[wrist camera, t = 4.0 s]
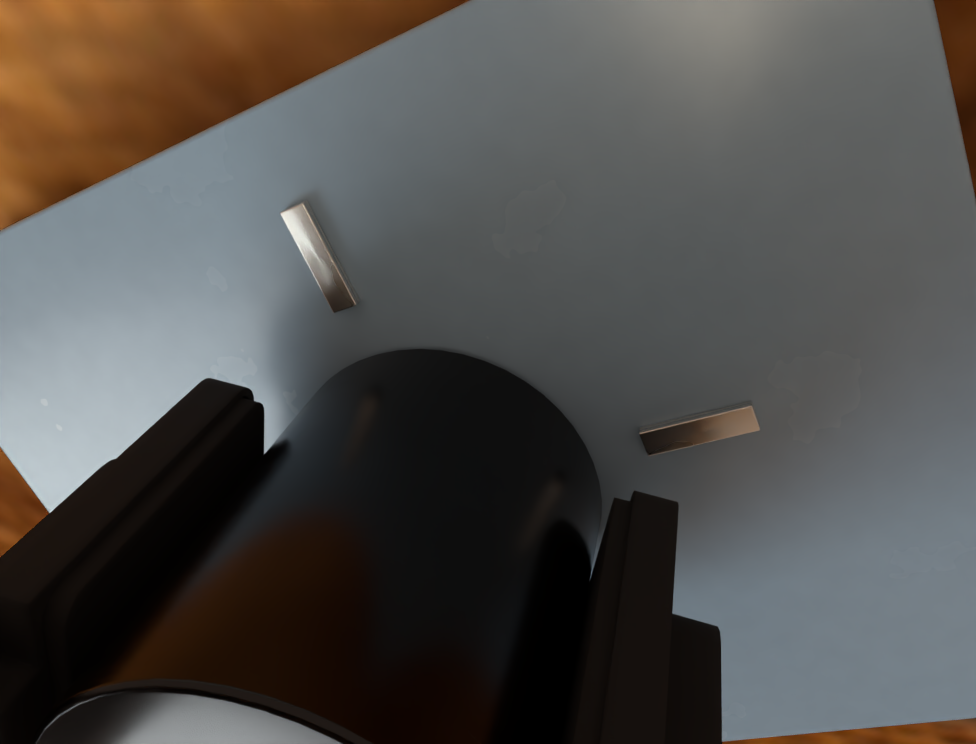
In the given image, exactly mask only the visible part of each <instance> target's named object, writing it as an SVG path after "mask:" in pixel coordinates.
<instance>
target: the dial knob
mask: <svg viewBox="0 0 976 744" xmlns="http://www.w3.org/2000/svg"><path fill="white" fill-rule="evenodd" d="M601 517H602V497H601V490H600V483H599V479H598V475H597V472H596V469H595V466H594V462H593V460H592V458H591V456H590V454H589V452H588V450H587V447H586V445H585V443H584V442H583V440H582V439H581V437H580V436H579V434H578V433H577V431H576V429H575V428H574V426H573V425H572V424H571V423H570V421H569V420H568V419H567V418H566V417H565V415H564V414H563V413H562V412H561V411H560V409H559V408H557V407H556V406H555V405H554V404H553V403H552V402H551V401H550V400H549V399H548V398H547V397H546V396H545V395H544V394H542V393H541V392H540V391H538V390H537V389H536V388H534V387H533V386H531V385H530V384H529V383H527V382H526V381H525V380H523V379H521V378H519V377H518V376H516V375H514V374H512V373H511V372H509V371H507V370H505V369H503V368H501V367H498V366H496V365H494V364H491V363H489V362H487V361H484V360H481V359H478V358H475V357H471V356H468V355H465V354H460V353H455V352H449V351H444V350H433V349H407V350H396V351H391V352H386V353H381V354H377V355H374V356H371V357H368V358H365V359H362V360H359V361H357V362H355V363H353V364H351V365H349V366H348V367H346V368H344V369H342V370H341V371H339V372H338V373H337V374H335V375H334V376H332V377H331V378H330V379H328V380H327V381H326V382H325V383H324V384H323V386H322V387H321V388H320V389H319V390H318V391H317V392H316V393H315V394H314V395H313V396H312V398H311V399H310V400H309V401H308V402H307V404H306V405H305V406H304V407H303V408H302V410H301V411H300V412H299V413H298V414H297V416H296V417H295V418H294V419H293V420H292V422H291V423H290V424H289V425H288V426H287V428H286V429H285V430H284V431H283V432H282V434H281V435H280V436H279V437H278V438H277V440H276V441H275V442H274V443H273V444H272V446H271V447H270V448H269V449H268V450H267V452H266V453H265V454H264V455H263V456H262V458H261V459H260V460H259V461H258V462H257V464H256V465H255V466H254V467H253V468H252V470H251V471H250V472H249V473H248V474H247V476H246V477H245V478H244V479H243V480H242V482H241V483H240V484H239V485H238V486H237V487H236V489H235V490H234V491H233V492H232V493H231V495H230V496H229V497H228V498H227V499H226V501H225V502H224V503H223V504H222V505H221V507H220V508H219V509H218V510H217V511H216V513H215V514H214V515H213V516H212V517H211V519H210V520H209V521H208V522H207V523H206V525H205V526H204V527H203V528H202V529H201V531H200V532H199V533H198V534H197V535H196V537H195V538H194V539H193V540H192V541H191V543H190V544H189V545H188V546H187V547H186V549H185V550H184V551H183V552H182V553H181V555H180V556H179V557H178V558H177V559H176V561H175V562H174V563H173V564H172V565H171V567H170V568H169V569H168V570H167V571H166V573H165V574H164V575H163V576H162V577H161V579H160V580H159V581H158V582H157V583H156V585H155V586H154V587H153V588H152V589H151V591H150V592H149V593H148V594H147V595H146V597H145V598H144V599H143V600H142V601H141V603H140V604H139V605H138V606H137V607H136V609H135V610H134V611H133V612H132V613H131V615H130V616H129V617H128V618H127V619H126V620H125V622H124V623H123V624H122V625H121V626H120V628H119V629H118V630H117V631H116V632H115V634H114V635H113V636H112V637H111V638H110V640H109V641H108V642H107V643H106V644H105V646H104V647H103V648H102V649H101V650H100V652H99V653H98V654H97V655H96V656H95V658H94V659H93V660H92V661H91V662H90V664H89V665H88V666H87V667H86V668H85V670H84V671H83V672H82V673H81V674H80V676H79V677H78V678H77V679H76V680H75V682H74V683H73V684H72V685H71V686H70V688H69V689H68V690H67V691H66V692H65V694H64V695H63V696H62V697H61V698H60V700H59V701H58V702H57V703H56V704H55V706H54V707H53V708H52V709H51V710H50V712H49V713H48V714H47V715H46V716H45V718H44V719H43V721H42V723H41V724H40V726H39V727H38V729H37V731H36V732H35V735H34V738H33V741H32V744H559V742H560V737H561V732H562V726H563V721H564V716H565V710H566V705H567V699H568V694H569V689H570V683H571V678H572V673H573V667H574V662H575V657H576V651H577V646H578V640H579V635H580V630H581V624H582V619H583V614H584V608H585V603H586V598H587V592H588V587H589V581H590V576H591V571H592V565H593V560H594V555H595V549H596V544H597V539H598V533H599V528H600V522H601Z"/></svg>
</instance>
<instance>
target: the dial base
mask: <svg viewBox="0 0 976 744" xmlns="http://www.w3.org/2000/svg"><path fill="white" fill-rule="evenodd" d="M407 349H433V350H444V351H449V352H455V353H460V354H465V355H468V356H471V357H475V358H478V359H481V360H484V361H487V362H489V363H491V364H494V365H496V366H498V367H501V368H503V369H505V370H507V371H509V372H511V373H512V374H514V375H516V376H518V377H519V378H521V379H523V380H525V381H526V382H527V383H529V384H530V385H531V386H533V387H534V388H536V389H537V390H538V391H540V392H541V393H542V394H544V395H545V396H546V397H547V398H548V399H549V400H550V401H551V402H552V403H553V404H554V405H555V406H556V407H557V408H559V409H560V411H561V412H562V413H563V414H564V415H565V417H566V418H567V419H568V420H569V421H570V423H571V424H572V425H573V426H574V428H575V429H576V431H577V433H578V434H579V436H580V437H581V439H582V440H583V442H584V443H585V445H586V447H587V450H588V452H589V454H590V456H591V458H592V460H593V462H594V466H595V469H596V472H597V475H598V479H599V483H600V490H601V497H602V517H601V522H600V528H599V533H598V539H597V544H596V549H595V555H594V560H593V565H592V571H593V568H594V564H595V561H596V557H597V554H598V551H599V547H600V544H601V540H602V537H603V533H604V530H605V526H606V523H607V519H608V516H609V513H610V509H611V506H612V502H613V500H614V498H619V499H623V500H627V501H630V500H631V496H632V494H633V492H634V490H635V491H639V492H642V493H646V494H650V495H654V496H657V497H661V498H665V499H669V500H672V501H676V502H678V504H679V511H678V528H677V544H676V561H675V577H674V594H673V610H672V614H676V615H679V616H683V617H686V618H690V619H693V620H697V621H700V622H704V623H708V624H711V625H715V626H718V628H719V630H720V636H721V683H722V741H733V740H744V739H755V738H765V737H776V736H787V735H798V734H808V733H819V732H830V731H841V730H851V729H862V728H873V727H883V726H894V725H905V724H916V723H926V722H937V721H948V720H959V719H969V718H976V197H975V192H974V188H973V183H972V178H971V174H970V169H969V164H968V159H967V155H966V150H965V145H964V141H963V136H962V131H961V126H960V122H959V117H958V112H957V108H956V103H955V98H954V93H953V89H952V84H951V79H950V75H949V70H948V65H947V60H946V56H945V51H944V46H943V41H942V37H941V32H940V27H939V23H938V18H937V13H936V8H935V4H934V0H469V1H467V2H465V3H463V4H461V5H459V6H457V7H455V8H453V9H451V10H449V11H447V12H445V13H443V14H441V15H439V16H437V17H435V18H433V19H430V20H428V21H426V22H424V23H422V24H420V25H418V26H416V27H414V28H412V29H410V30H408V31H406V32H404V33H402V34H400V35H398V36H396V37H394V38H392V39H390V40H388V41H386V42H384V43H381V44H379V45H377V46H375V47H373V48H371V49H369V50H367V51H365V52H363V53H361V54H359V55H357V56H355V57H353V58H351V59H349V60H347V61H345V62H343V63H341V64H339V65H337V66H335V67H332V68H330V69H328V70H326V71H324V72H322V73H320V74H318V75H316V76H314V77H312V78H310V79H308V80H306V81H304V82H302V83H300V84H298V85H296V86H294V87H292V88H290V89H288V90H286V91H283V92H281V93H279V94H277V95H275V96H273V97H271V98H269V99H267V100H265V101H263V102H261V103H259V104H257V105H255V106H253V107H251V108H249V109H247V110H245V111H243V112H241V113H239V114H237V115H234V116H232V117H230V118H228V119H226V120H224V121H222V122H220V123H218V124H216V125H214V126H212V127H210V128H208V129H206V130H204V131H202V132H200V133H198V134H196V135H194V136H192V137H190V138H188V139H186V140H183V141H181V142H179V143H177V144H175V145H173V146H171V147H169V148H167V149H165V150H163V151H161V152H159V153H157V154H155V155H153V156H151V157H149V158H147V159H145V160H143V161H141V162H139V163H137V164H134V165H132V166H130V167H128V168H126V169H124V170H122V171H120V172H118V173H116V174H114V175H112V176H110V177H108V178H106V179H104V180H102V181H100V182H98V183H96V184H94V185H92V186H90V187H88V188H85V189H83V190H81V191H79V192H77V193H75V194H73V195H71V196H69V197H67V198H65V199H63V200H61V201H59V202H57V203H55V204H53V205H51V206H49V207H47V208H45V209H43V210H41V211H39V212H36V213H34V214H32V215H30V216H28V217H26V218H24V219H22V220H20V221H18V222H16V223H14V224H12V225H10V226H8V227H6V228H4V229H2V230H0V448H1V449H2V450H3V452H4V453H5V454H6V456H7V457H8V458H9V460H10V461H11V462H12V464H13V465H14V466H15V468H16V469H17V470H18V472H19V473H20V474H21V476H22V477H23V479H24V480H25V481H26V483H27V484H28V485H29V487H30V488H31V489H32V491H33V492H34V493H35V495H36V496H37V497H38V499H39V500H40V501H41V503H42V504H43V505H44V507H45V508H46V509H47V511H48V512H49V513H50V512H52V511H53V510H54V509H55V508H56V507H57V506H58V505H59V504H60V503H62V502H63V501H64V500H65V499H66V498H67V497H68V496H69V495H70V494H72V493H73V492H74V491H75V490H76V489H77V488H78V487H79V486H80V485H82V484H83V483H84V482H85V481H86V480H87V479H88V478H89V477H90V476H92V475H93V474H94V473H95V472H96V471H97V470H98V469H99V468H100V467H102V466H103V465H104V464H106V463H107V462H109V461H110V460H112V459H116V458H117V457H118V456H119V455H121V454H122V453H123V452H124V451H125V450H126V449H127V448H128V447H129V446H130V445H132V444H133V443H134V442H135V441H136V440H137V439H138V438H139V437H140V436H141V435H143V434H144V433H145V432H146V431H147V430H148V429H149V428H150V427H151V426H152V425H154V424H155V423H156V422H157V421H158V420H159V419H160V418H161V417H162V416H163V415H165V414H166V413H167V412H168V411H169V410H170V409H171V408H172V407H173V406H174V405H176V404H177V403H178V402H179V401H180V400H181V399H182V398H183V397H184V396H185V395H187V394H188V393H189V392H190V391H191V390H192V389H193V388H194V387H195V386H196V385H198V384H199V383H200V382H201V381H203V380H204V379H206V378H213V379H216V380H220V381H224V382H228V383H231V384H235V385H239V386H243V387H246V388H249V389H250V390H252V393H253V395H254V401H256V402H260V403H261V404H263V407H264V413H265V417H264V454H265V453H266V452H267V450H268V449H269V448H270V447H271V446H272V444H273V443H274V442H275V441H276V440H277V438H278V437H279V436H280V435H281V434H282V432H283V431H284V430H285V429H286V428H287V426H288V425H289V424H290V423H291V422H292V420H293V419H294V418H295V417H296V416H297V414H298V413H299V412H300V411H301V410H302V408H303V407H304V406H305V405H306V404H307V402H308V401H309V400H310V399H311V398H312V396H313V395H314V394H315V393H316V392H317V391H318V390H319V389H320V388H321V387H322V386H323V384H324V383H325V382H326V381H327V380H328V379H330V378H331V377H332V376H334V375H335V374H337V373H338V372H339V371H341V370H342V369H344V368H346V367H348V366H349V365H351V364H353V363H355V362H357V361H359V360H362V359H365V358H368V357H371V356H374V355H377V354H381V353H386V352H391V351H396V350H407ZM592 571H591V575H592ZM590 578H591V576H590ZM589 582H590V581H589Z"/></svg>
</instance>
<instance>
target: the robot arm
mask: <svg viewBox="0 0 976 744" xmlns="http://www.w3.org/2000/svg"><path fill="white" fill-rule="evenodd" d="M264 417H265V413H264V407H263V404H261V403H260V402H256V401H254V395H253V393H252V390H250V389H249V388H246V387H243V386H239V385H235V384H231V383H228V382H224V381H220V380H216V379H213V378H206V379H204V380H203V381H201V382H200V383H199V384H198V385H196V386H195V387H194V388H193V389H192V390H191V391H190V392H189V393H188V394H187V395H185V396H184V397H183V398H182V399H181V400H180V401H179V402H178V403H177V404H176V405H174V406H173V407H172V408H171V409H170V410H169V411H168V412H167V413H166V414H165V415H163V416H162V417H161V418H160V419H159V420H158V421H157V422H156V423H155V424H154V425H152V426H151V427H150V428H149V429H148V430H147V431H146V432H145V433H144V434H143V435H141V436H140V437H139V438H138V439H137V440H136V441H135V442H134V443H133V444H132V445H130V446H129V447H128V448H127V449H126V450H125V451H124V452H123V453H122V454H121V455H119V456H118V457H117V458H116V459H112V460H110V461H109V462H107V463H106V464H104V465H103V466H102V467H100V468H99V469H98V470H97V471H96V472H95V473H94V474H93V475H92V476H90V477H89V478H88V479H87V480H86V481H85V482H84V483H83V484H82V485H80V486H79V487H78V488H77V489H76V490H75V491H74V492H73V493H72V494H70V495H69V496H68V497H67V498H66V499H65V500H64V501H63V502H62V503H60V504H59V505H58V506H57V507H56V508H55V509H54V510H53V511H52V512H50V513H49V514H48V515H47V516H46V517H45V518H44V519H43V520H42V521H40V522H39V523H38V524H37V525H36V526H35V527H34V528H33V529H32V530H30V531H29V532H28V533H27V534H26V535H25V536H24V537H23V538H22V539H20V540H19V541H18V542H17V543H16V544H15V545H14V546H13V547H12V548H10V549H9V550H8V551H7V552H6V553H5V554H4V555H3V556H2V557H0V744H32V741H33V738H34V735H35V732H36V731H37V729H38V727H39V726H40V724H41V723H42V721H43V719H44V718H45V716H46V715H47V714H48V713H49V712H50V710H51V709H52V708H53V707H54V706H55V704H56V703H57V702H58V701H59V700H60V698H61V697H62V696H63V695H64V694H65V692H66V691H67V690H68V689H69V688H70V686H71V685H72V684H73V683H74V682H75V680H76V679H77V678H78V677H79V676H80V674H81V673H82V672H83V671H84V670H85V668H86V667H87V666H88V665H89V664H90V662H91V661H92V660H93V659H94V658H95V656H96V655H97V654H98V653H99V652H100V650H101V649H102V648H103V647H104V646H105V644H106V643H107V642H108V641H109V640H110V638H111V637H112V636H113V635H114V634H115V632H116V631H117V630H118V629H119V628H120V626H121V625H122V624H123V623H124V622H125V620H126V619H127V618H128V617H129V616H130V615H131V613H132V612H133V611H134V610H135V609H136V607H137V606H138V605H139V604H140V603H141V601H142V600H143V599H144V598H145V597H146V595H147V594H148V593H149V592H150V591H151V589H152V588H153V587H154V586H155V585H156V583H157V582H158V581H159V580H160V579H161V577H162V576H163V575H164V574H165V573H166V571H167V570H168V569H169V568H170V567H171V565H172V564H173V563H174V562H175V561H176V559H177V558H178V557H179V556H180V555H181V553H182V552H183V551H184V550H185V549H186V547H187V546H188V545H189V544H190V543H191V541H192V540H193V539H194V538H195V537H196V535H197V534H198V533H199V532H200V531H201V529H202V528H203V527H204V526H205V525H206V523H207V522H208V521H209V520H210V519H211V517H212V516H213V515H214V514H215V513H216V511H217V510H218V509H219V508H220V507H221V505H222V504H223V503H224V502H225V501H226V499H227V498H228V497H229V496H230V495H231V493H232V492H233V491H234V490H235V489H236V487H237V486H238V485H239V484H240V483H241V482H242V480H243V479H244V478H245V477H246V476H247V474H248V473H249V472H250V471H251V470H252V468H253V467H254V466H255V465H256V464H257V462H258V461H259V460H260V459H261V458H262V456H263V455H264ZM678 511H679V504H678V502H676V501H672V500H669V499H665V498H661V497H657V496H654V495H650V494H646V493H642V492H639V491H635V490H634V492H633V494H632V496H631V500H630V501H627V500H623V499H619V498H614V500H613V502H612V506H611V509H610V513H609V516H608V519H607V523H606V526H605V530H604V533H603V537H602V540H601V544H600V547H599V551H598V554H597V557H596V561H595V564H594V568H593V571H592V575H591V578H590V582H589V587H588V592H587V598H586V603H585V608H584V614H583V619H582V624H581V630H580V635H579V640H578V646H577V651H576V657H575V662H574V667H573V673H572V678H571V683H570V689H569V694H568V699H567V705H566V710H565V716H564V721H563V726H562V732H561V737H560V742H559V744H722V683H721V636H720V630H719V628H718V626H715V625H711V624H708V623H704V622H700V621H697V620H693V619H690V618H686V617H683V616H679V615H676V614H672V610H673V594H674V577H675V561H676V544H677V528H678Z"/></svg>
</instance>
